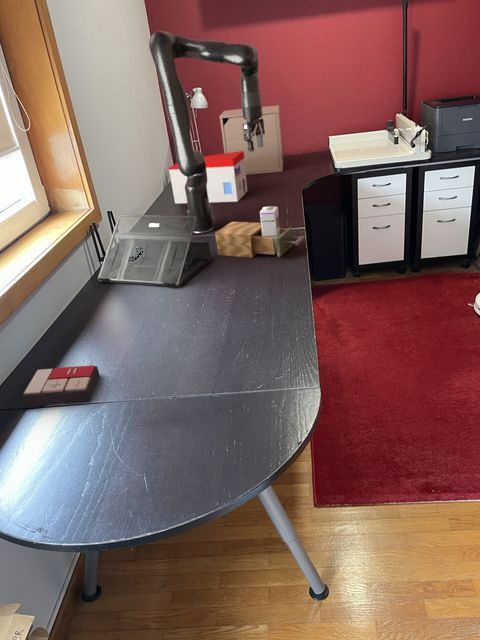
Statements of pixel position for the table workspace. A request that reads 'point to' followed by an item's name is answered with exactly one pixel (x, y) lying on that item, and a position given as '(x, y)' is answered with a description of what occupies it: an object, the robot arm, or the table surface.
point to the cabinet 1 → (254, 140)
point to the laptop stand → (155, 253)
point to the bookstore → (216, 178)
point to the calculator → (61, 385)
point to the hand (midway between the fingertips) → (255, 149)
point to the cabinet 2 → (237, 239)
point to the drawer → (267, 243)
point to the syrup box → (270, 222)
